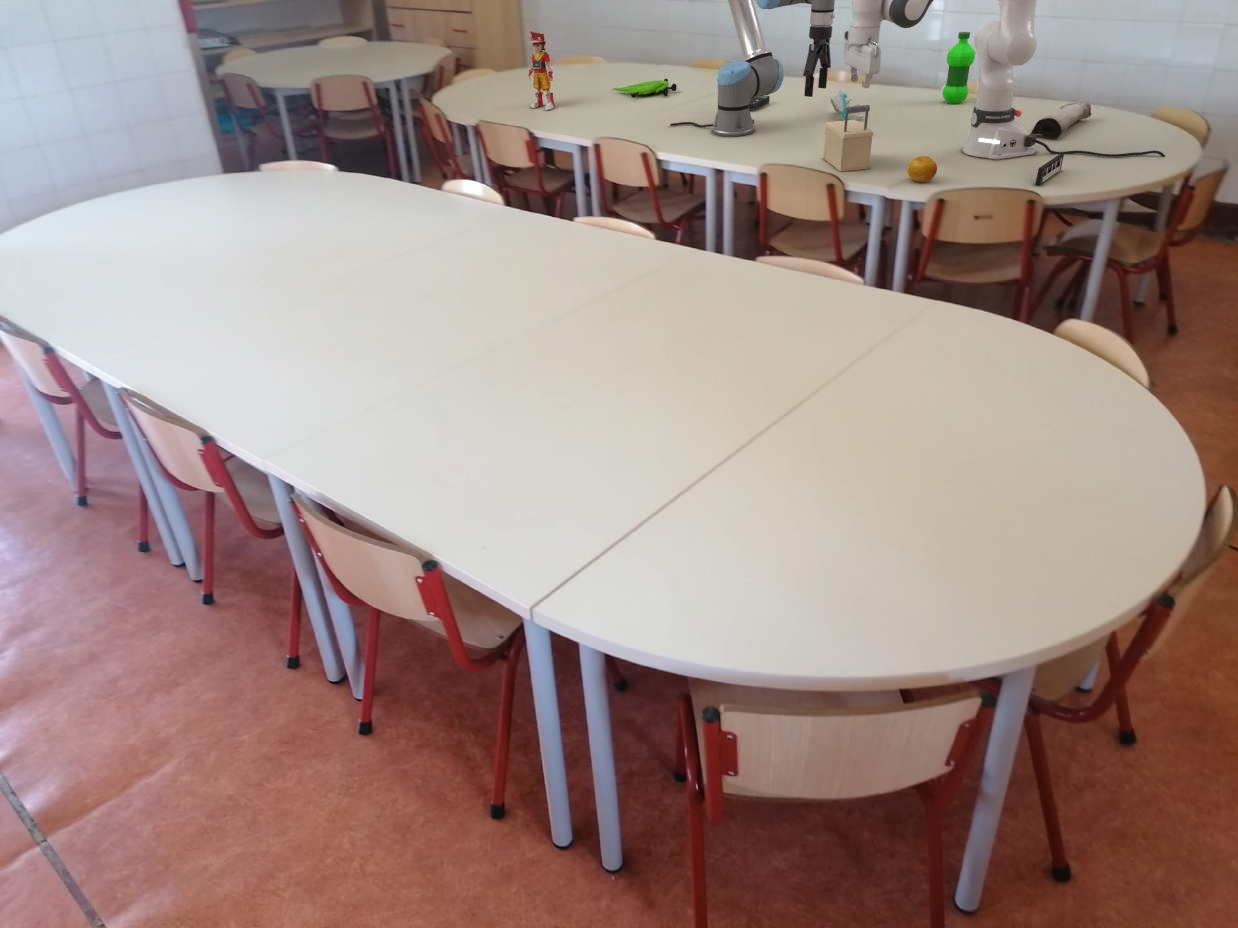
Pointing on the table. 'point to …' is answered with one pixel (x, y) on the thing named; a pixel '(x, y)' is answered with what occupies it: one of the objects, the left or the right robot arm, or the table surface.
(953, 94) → the plastic bottle
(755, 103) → the disk drive
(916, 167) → the fruit
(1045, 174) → the midi keyboard
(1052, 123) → the rolled mat
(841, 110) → the anatomical model
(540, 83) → the toy
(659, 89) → the toy
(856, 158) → the chest
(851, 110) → the lid
